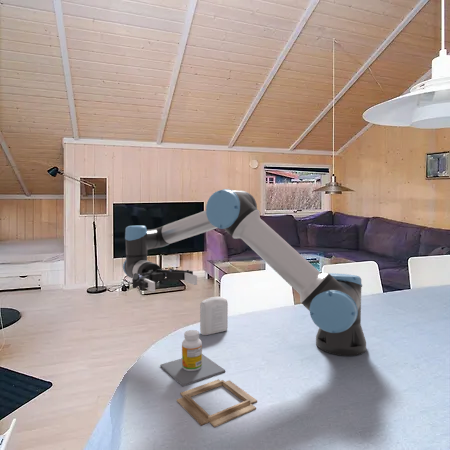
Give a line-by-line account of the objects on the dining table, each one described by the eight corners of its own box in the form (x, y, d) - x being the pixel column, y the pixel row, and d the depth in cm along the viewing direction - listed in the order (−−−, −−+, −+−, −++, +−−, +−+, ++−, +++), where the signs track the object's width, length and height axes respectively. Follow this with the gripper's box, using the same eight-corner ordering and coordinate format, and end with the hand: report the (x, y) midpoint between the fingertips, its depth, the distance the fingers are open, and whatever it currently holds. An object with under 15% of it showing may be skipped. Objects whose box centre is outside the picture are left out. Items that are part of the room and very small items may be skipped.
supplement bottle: (182, 362, 98) (182, 329, 98) (201, 362, 99) (201, 328, 98) (181, 372, 93) (181, 336, 92) (202, 371, 93) (201, 335, 93)
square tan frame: (224, 378, 91) (224, 374, 91) (262, 405, 78) (262, 401, 78) (172, 396, 82) (172, 392, 82) (206, 430, 70) (206, 426, 70)
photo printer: (222, 327, 128) (222, 293, 127) (229, 330, 124) (229, 296, 123) (198, 333, 122) (198, 298, 121) (204, 336, 118) (204, 301, 118)
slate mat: (200, 354, 105) (200, 352, 105) (225, 371, 94) (225, 369, 94) (160, 366, 97) (160, 364, 97) (182, 386, 87) (182, 384, 87)
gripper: (180, 278, 126) (211, 289, 109) (111, 289, 112) (134, 303, 95) (179, 257, 126) (211, 265, 108) (110, 266, 112) (133, 276, 94)
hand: (175, 283), depth 101 cm, fingers open, 13 cm apart
